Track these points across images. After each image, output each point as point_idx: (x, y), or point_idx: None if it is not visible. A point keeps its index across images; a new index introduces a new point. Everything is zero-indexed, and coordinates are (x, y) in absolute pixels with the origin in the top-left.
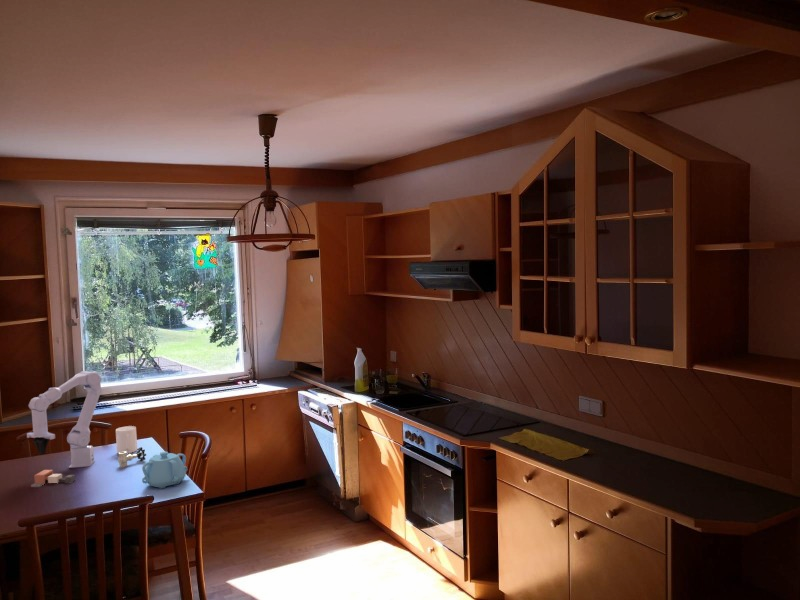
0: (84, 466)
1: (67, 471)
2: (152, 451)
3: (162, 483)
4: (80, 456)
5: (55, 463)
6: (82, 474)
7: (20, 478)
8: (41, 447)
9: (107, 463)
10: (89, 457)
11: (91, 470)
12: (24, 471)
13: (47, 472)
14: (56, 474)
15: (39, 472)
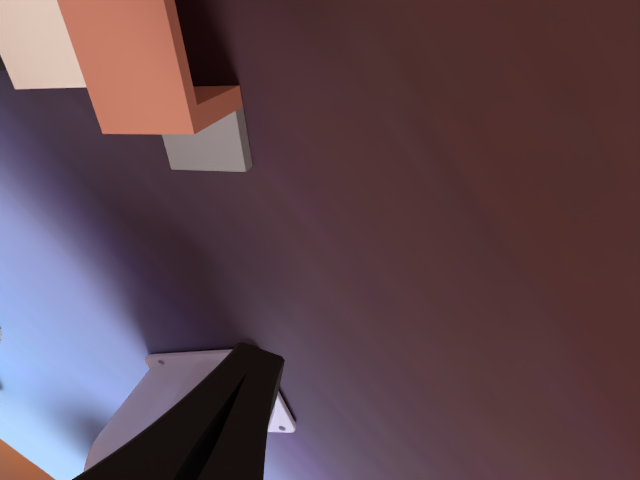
0: (171, 353)
1: (216, 289)
2: (61, 472)
3: None
4: (154, 417)
5: (430, 453)
6: (58, 214)
7: (546, 150)
8: (144, 440)
9: (102, 380)
10: (122, 408)
11: (77, 285)
12: (612, 346)
13: (71, 28)
14: (42, 64)
15: (170, 27)
